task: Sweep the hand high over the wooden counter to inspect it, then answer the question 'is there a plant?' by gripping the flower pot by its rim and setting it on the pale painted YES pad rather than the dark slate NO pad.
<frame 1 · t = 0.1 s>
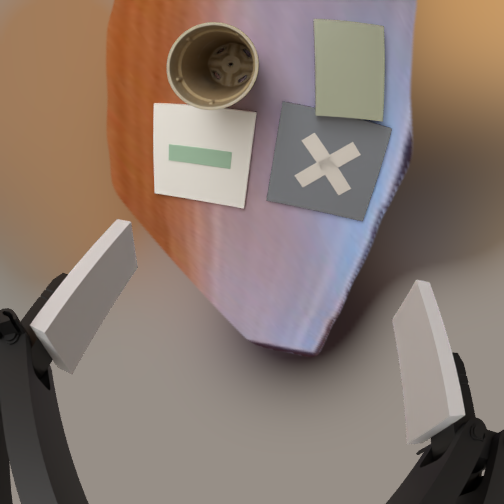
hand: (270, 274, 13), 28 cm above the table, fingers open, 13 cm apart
no pad: (327, 163, 37), on the table
flower pot: (231, 64, 31), on the table
notebook: (348, 69, 29), on the table, touching no pad
yes pad: (200, 154, 39), on the table
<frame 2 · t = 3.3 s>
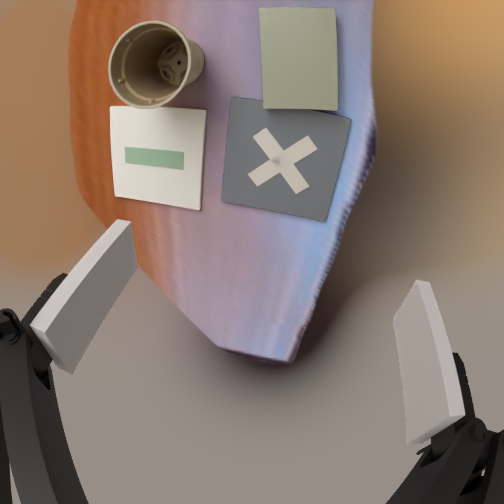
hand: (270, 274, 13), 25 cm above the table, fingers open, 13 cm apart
no pad: (282, 159, 35), on the table
flower pot: (180, 62, 30), on the table
notebook: (299, 57, 27), on the table, touching no pad
yes pad: (155, 155, 38), on the table
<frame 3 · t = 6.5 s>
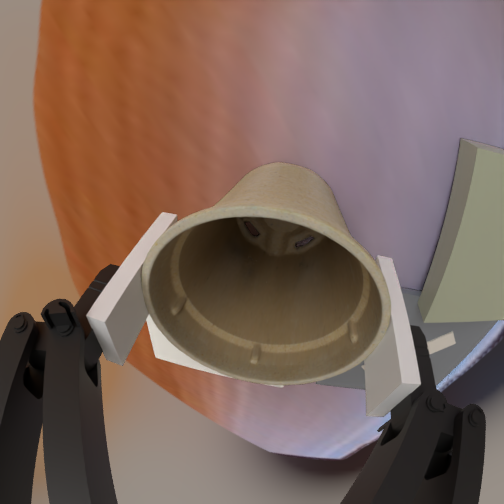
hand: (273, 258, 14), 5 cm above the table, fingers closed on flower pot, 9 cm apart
no pad: (408, 349, 23), on the table
flower pot: (282, 208, 18), on the table, touching gripper
notebook: (487, 236, 15), on the table, touching no pad
yes pad: (221, 332, 26), on the table
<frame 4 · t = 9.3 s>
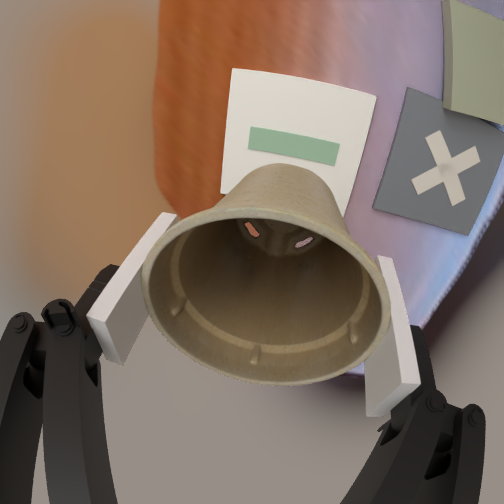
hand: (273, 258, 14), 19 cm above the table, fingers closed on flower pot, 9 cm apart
no pad: (445, 167, 27), on the table
flower pot: (282, 208, 18), point 14 cm above the table, touching gripper
notebook: (475, 62, 18), on the table, touching no pad
yes pad: (293, 143, 29), on the table
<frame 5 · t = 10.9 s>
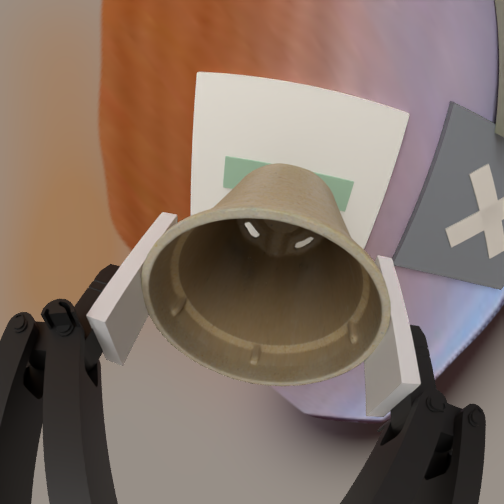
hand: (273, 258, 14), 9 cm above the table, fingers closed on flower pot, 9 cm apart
no pad: (487, 211, 19), on the table
flower pot: (282, 209, 18), point 4 cm above the table, touching gripper
yes pad: (287, 179, 21), on the table
when the fingers open (6 cm above the table, at t = 12.1 s): flower pot stays where it is, resting on yes pad.
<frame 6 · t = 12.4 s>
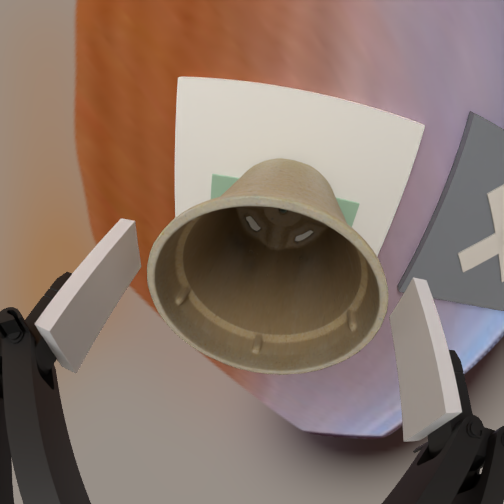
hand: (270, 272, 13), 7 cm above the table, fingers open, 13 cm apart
no pad: (502, 232, 16), on the table
flower pot: (283, 203, 18), point 1 cm above the table, touching yes pad
yes pad: (283, 199, 19), on the table
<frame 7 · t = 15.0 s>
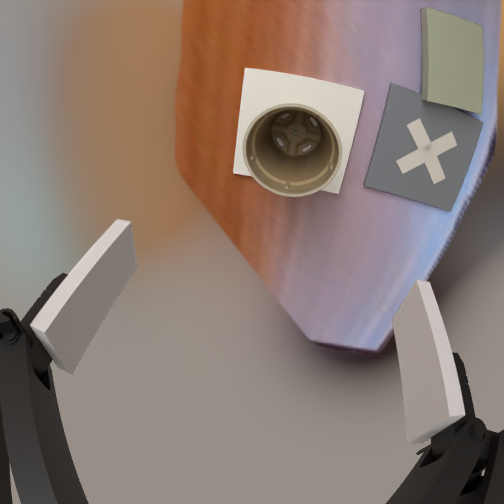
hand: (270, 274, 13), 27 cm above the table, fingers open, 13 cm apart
no pad: (425, 150, 32), on the table
flower pot: (295, 131, 34), point 1 cm above the table, touching yes pad
notebook: (450, 60, 23), on the table, touching no pad
yes pad: (295, 130, 34), on the table
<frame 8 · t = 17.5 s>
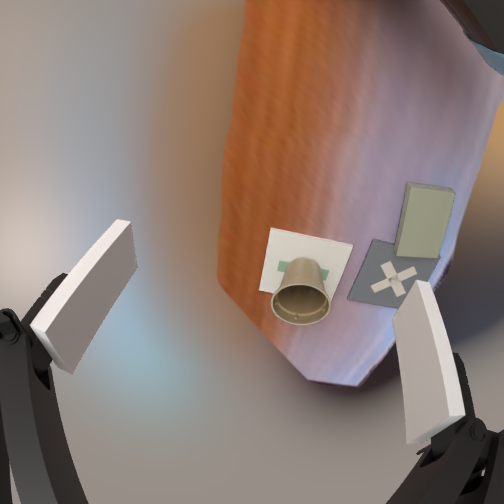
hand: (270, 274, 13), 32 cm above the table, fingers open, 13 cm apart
no pad: (393, 277, 51), on the table
flower pot: (303, 269, 52), point 1 cm above the table, touching yes pad
notebook: (422, 219, 42), on the table, touching no pad
yes pad: (303, 268, 53), on the table
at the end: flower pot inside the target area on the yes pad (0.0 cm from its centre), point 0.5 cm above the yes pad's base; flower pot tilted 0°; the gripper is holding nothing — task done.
